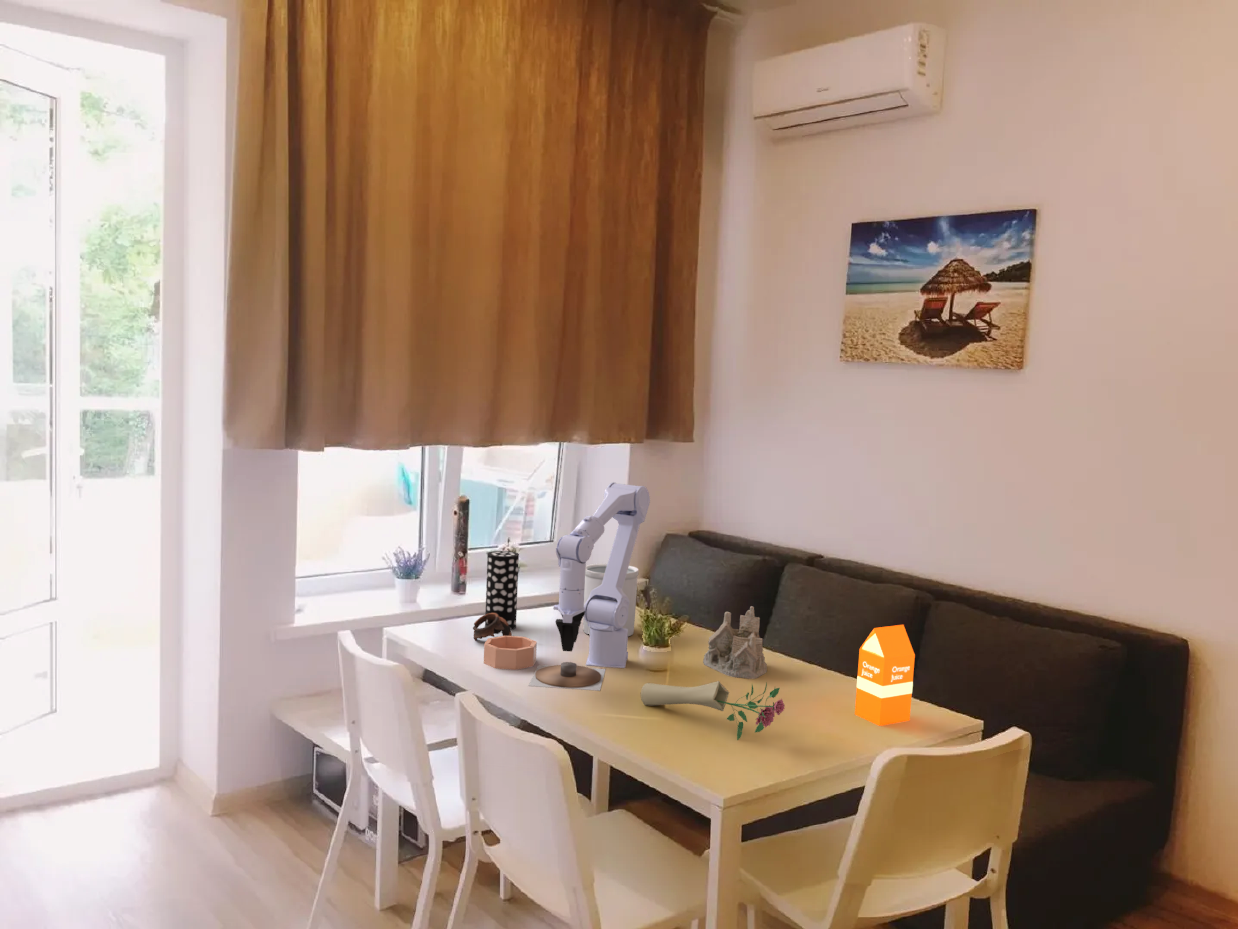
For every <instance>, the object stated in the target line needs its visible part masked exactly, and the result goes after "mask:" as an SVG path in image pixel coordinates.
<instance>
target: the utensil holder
mask: <svg viewBox="0 0 1238 929" xmlns="http://www.w3.org/2000/svg"><path fill="white" fill-rule="evenodd" d="M607 564H608V563H591V564H586V569H585V590H584V605H585V603H586V601H587V600H588V598H589V595H590V592H591V591H592V590H593V589H595V588H597V587H598V586H600V585H601V584H602V581H603V578H604V574H605V571H606V567H607ZM639 571H640V570H639V568H638V567H636V566H633V565H629V567H628V570H627V574H626V578H625V581H624V585H623V588H622V591H623V592H624V593H625V595H626V596H627V597H628V599H629V601H630V602H629V608H628V619H627V622H626V624H625V625H624V626H623V628H625V629H628V637H630V636H633V634H634V632H635V620H636V619H635V618H636V610H637V609H636V606H637V593H638V592H637V591H638V590H637V587H638V576H639ZM609 601H610V600H609ZM614 602H616V601H614ZM582 622H583V623H582V627H583V628H582V629H583V630H582V631H583V633H584V634H586V635H588V634H589V635H588V636H590V627H589V626H588V622H586V621H585V619H584V616H583V618H582Z"/></svg>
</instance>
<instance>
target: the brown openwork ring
mask: <svg viewBox="0 0 1238 929" xmlns="http://www.w3.org/2000/svg"><path fill="white" fill-rule="evenodd" d="M486 620H487V623H488V624H489V625H488V626H486V627H485V626H484V627H480V628H479V626H481V625H482V624H484V623H485V621H486ZM472 630H473V639H474V641H475V642H477V640H478V639H480V640H481V639H483V638H487V637H492V638H494V637H495V635H498V634H500V633H501V636H513V634H512V630H511V629H510V626H509V624H508V623H507V621H506V620H505V619H503V618H502V617H500V616H499V615H498V614H497V613H489V614H486V615H485V614H483V615H482V616H479V618H478V619H477V620H475V621H474V623H473V627H472Z"/></svg>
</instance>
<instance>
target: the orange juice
mask: <svg viewBox="0 0 1238 929" xmlns="http://www.w3.org/2000/svg"><path fill="white" fill-rule="evenodd" d="M858 651H859V652H858V653H859V654H858V667H857V677H856V693H855V704H854V705H855V706H854V707H855V708H854V715H855V716H857V717H859V718H861V719H864V720H866V721H868V722H870V723H872V724H874V725H876V726H879V727H880V726H881V727H882V726H887V725H893V724H899V723H903V722H904V723H905V722H909V721H911V718H910V717H911V711H912V710H911V708H912V696H913V695H912V694H913V687H914V671H915V670H914V668H915V658H916V654H915V652H914V649H913V647H912V644H911V641H910V638H909V636H908V633H907V631H906V628H905V624H897V625H890V626H882V627H881V626H880V627H874V628H873V629H872V631H871V632H870V633H869V635H868V636H867V638H866V639H865V641H864V642H863V643H862V645H861V646H860V648H859V650H858Z"/></svg>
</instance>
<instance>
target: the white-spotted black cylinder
mask: <svg viewBox="0 0 1238 929" xmlns="http://www.w3.org/2000/svg"><path fill="white" fill-rule="evenodd" d="M519 557H520V554H519V553H518V552H515V551H509V550H508V551H507V550H494V551H489V552H487V559H486V561H487V562H486V588H485V589H486V590H485V591H486V592H485V614H484V615H486V614H489V613H497V614H498V615H499V616H500V617H502V618H503V619H505V620H506V621H507V623H508V624H509V626H510V629H511V631H512V630H515V629H516V628H517V614H518V612H517V608H518V607H517V606H518V583H519V560H520V558H519ZM488 625H489V624H488V623H487V620H486V621H485V622H484V627H486V626H488Z"/></svg>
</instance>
